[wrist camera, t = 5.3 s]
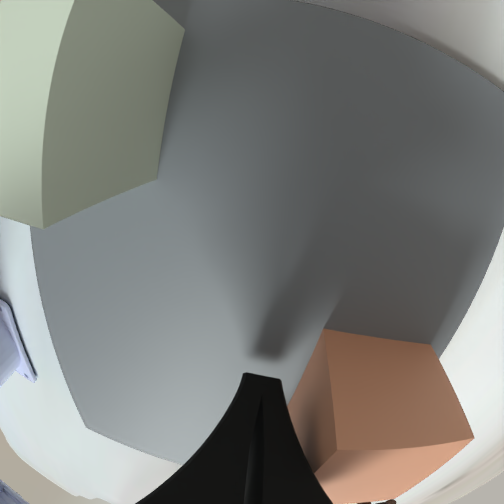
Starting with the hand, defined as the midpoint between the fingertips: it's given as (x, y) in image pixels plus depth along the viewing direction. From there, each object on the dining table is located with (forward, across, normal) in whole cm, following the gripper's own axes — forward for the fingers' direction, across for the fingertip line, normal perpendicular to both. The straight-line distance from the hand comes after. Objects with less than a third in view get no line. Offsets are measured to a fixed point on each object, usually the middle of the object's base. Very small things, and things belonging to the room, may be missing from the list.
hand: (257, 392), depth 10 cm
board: (+2, +2, 0) cm, 3 cm away
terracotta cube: (+1, -4, 0) cm, 5 cm away
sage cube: (+1, +7, -9) cm, 12 cm away
